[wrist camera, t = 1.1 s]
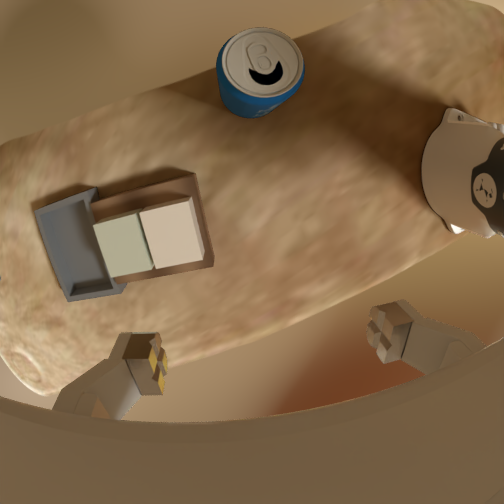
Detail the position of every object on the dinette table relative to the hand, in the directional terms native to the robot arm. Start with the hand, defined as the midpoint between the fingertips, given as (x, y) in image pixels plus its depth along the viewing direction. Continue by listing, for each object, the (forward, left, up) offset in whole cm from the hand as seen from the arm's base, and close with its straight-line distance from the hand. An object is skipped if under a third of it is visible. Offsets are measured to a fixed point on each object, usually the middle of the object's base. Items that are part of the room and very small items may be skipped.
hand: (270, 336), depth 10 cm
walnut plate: (+10, 0, -23) cm, 25 cm away
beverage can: (-3, -12, -23) cm, 27 cm away
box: (+21, +1, -23) cm, 31 cm away
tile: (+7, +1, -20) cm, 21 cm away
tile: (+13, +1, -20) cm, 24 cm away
